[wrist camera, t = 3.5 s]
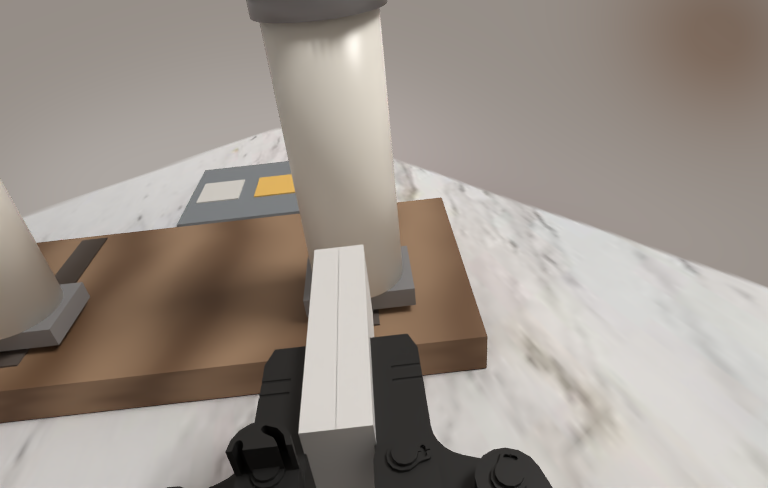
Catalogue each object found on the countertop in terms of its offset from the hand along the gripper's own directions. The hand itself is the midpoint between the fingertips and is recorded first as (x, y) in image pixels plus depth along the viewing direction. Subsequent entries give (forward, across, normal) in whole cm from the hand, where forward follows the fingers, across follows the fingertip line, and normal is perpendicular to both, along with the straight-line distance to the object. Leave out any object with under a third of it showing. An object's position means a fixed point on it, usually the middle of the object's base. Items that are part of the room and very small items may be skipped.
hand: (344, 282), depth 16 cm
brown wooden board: (+10, -8, -8) cm, 16 cm away
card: (+24, -9, -8) cm, 27 cm away
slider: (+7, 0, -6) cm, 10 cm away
